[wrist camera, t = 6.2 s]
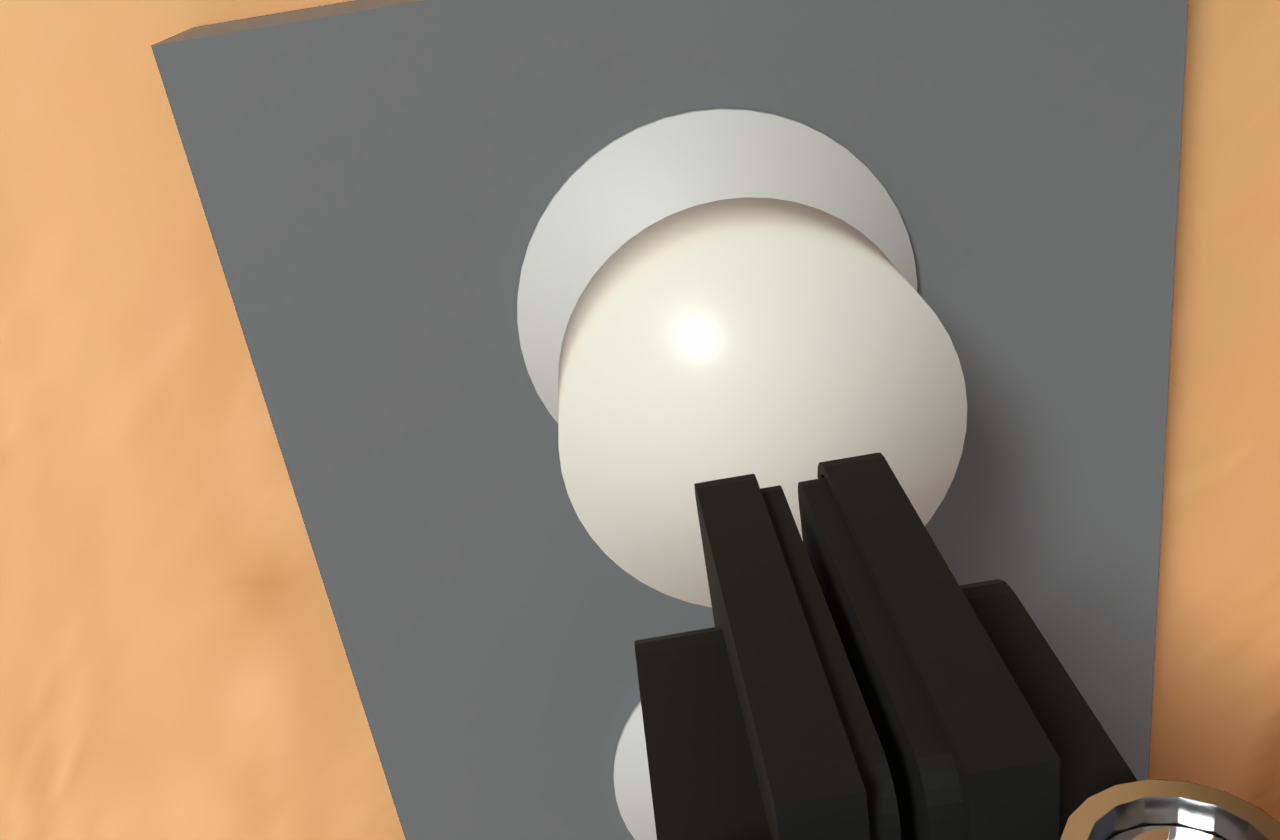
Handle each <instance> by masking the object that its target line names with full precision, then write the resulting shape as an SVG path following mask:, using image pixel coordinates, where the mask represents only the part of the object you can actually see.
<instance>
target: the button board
mask: <svg viewBox="0 0 1280 840" xmlns="http://www.w3.org/2000/svg"><path fill="white" fill-rule="evenodd" d="M1187 14H1188V0H355V1H349V2H343V3H337V4H331V5H325V6H319V7H313V8H307V9H301V10H295V11H289V12H283V13H277V14H271V15H265V16H259V17H253V18H247V19H241V20H235V21H229V22H223V23H217V24H211V25H205V26H199V27H193V28H191V29H189V30H186V31H184V32H182V33H180V34H177V35H175V36H173V37H170V38H168V39H166V40H163V41H161V42H159V43H156V44H154V45H152V46H151V47H152V50H153V53H154V56H155V59H156V62H157V65H158V69H159V72H160V75H161V78H162V81H163V84H164V87H165V90H166V94H167V97H168V100H169V103H170V106H171V109H172V112H173V115H174V118H175V122H176V125H177V128H178V131H179V134H180V137H181V140H182V143H183V147H184V150H185V153H186V156H187V159H188V162H189V165H190V168H191V171H192V175H193V178H194V181H195V184H196V187H197V190H198V193H199V196H200V199H201V203H202V206H203V209H204V212H205V215H206V218H207V221H208V224H209V228H210V231H211V234H212V237H213V240H214V243H215V246H216V249H217V252H218V256H219V259H220V262H221V265H222V268H223V271H224V274H225V277H226V281H227V284H228V287H229V290H230V293H231V296H232V299H233V302H234V305H235V309H236V312H237V315H238V318H239V321H240V324H241V327H242V330H243V334H244V337H245V340H246V343H247V346H248V349H249V352H250V355H251V358H252V362H253V365H254V368H255V371H256V374H257V377H258V380H259V383H260V387H261V390H262V393H263V396H264V399H265V402H266V405H267V408H268V411H269V415H270V418H271V421H272V424H273V427H274V430H275V433H276V436H277V440H278V443H279V446H280V449H281V452H282V455H283V458H284V461H285V464H286V468H287V471H288V474H289V477H290V480H291V483H292V486H293V489H294V493H295V496H296V499H297V502H298V505H299V508H300V511H301V514H302V517H303V521H304V524H305V527H306V530H307V533H308V536H309V539H310V542H311V546H312V549H313V552H314V555H315V558H316V561H317V564H318V567H319V570H320V574H321V577H322V580H323V583H324V586H325V589H326V592H327V595H328V599H329V602H330V605H331V608H332V611H333V614H334V617H335V620H336V623H337V627H338V630H339V633H340V636H341V639H342V642H343V645H344V648H345V652H346V655H347V658H348V661H349V664H350V667H351V670H352V673H353V676H354V680H355V683H356V686H357V689H358V692H359V695H360V698H361V701H362V705H363V708H364V711H365V714H366V717H367V720H368V723H369V726H370V729H371V733H372V736H373V739H374V742H375V745H376V748H377V751H378V754H379V757H380V761H381V764H382V767H383V770H384V773H385V776H386V779H387V782H388V786H389V789H390V792H391V795H392V798H393V801H394V804H395V807H396V810H397V814H398V817H399V820H400V823H401V826H402V829H403V832H404V835H405V839H406V840H657V836H656V827H655V818H654V810H653V801H652V793H651V784H650V775H649V767H648V758H647V750H646V741H645V733H644V724H643V715H642V707H641V698H640V690H639V681H638V672H637V664H636V655H635V645H634V643H635V640H641V639H647V638H653V637H659V636H665V635H670V634H676V633H682V632H688V631H694V630H700V629H706V628H712V627H715V625H714V618H713V611H712V608H711V607H706V606H702V605H698V604H693V603H689V602H685V601H683V600H680V599H677V598H674V597H671V596H669V595H666V594H663V593H661V592H659V591H657V590H655V589H653V588H651V587H650V586H648V585H646V584H644V583H642V582H640V581H639V580H637V579H636V578H634V577H633V576H631V575H630V574H629V573H627V572H626V571H624V570H623V569H622V568H620V567H619V566H618V565H617V564H616V563H615V562H614V561H613V560H611V559H610V558H609V557H608V556H607V555H606V554H605V553H604V552H603V551H602V550H601V548H600V547H599V546H598V545H597V544H596V542H595V541H594V540H593V539H592V538H591V537H590V535H589V534H588V532H587V530H586V529H585V527H584V526H583V524H582V523H581V521H580V519H579V518H578V516H577V514H576V512H575V510H574V507H573V505H572V503H571V501H570V498H569V496H568V493H567V490H566V486H565V483H564V479H563V476H562V472H561V464H560V456H559V448H558V371H559V358H560V352H561V346H562V340H563V337H564V334H565V331H566V327H567V324H568V321H569V318H570V316H571V314H572V312H573V310H574V307H575V305H576V303H577V301H578V299H579V297H580V295H581V294H582V292H583V291H584V289H585V288H586V286H587V284H588V283H589V281H590V280H591V278H592V277H593V276H594V274H595V273H596V272H597V271H598V270H599V269H600V267H601V266H602V265H603V264H604V263H605V261H606V260H607V259H608V258H609V257H610V256H611V255H612V254H613V253H614V252H616V251H617V250H618V249H619V248H620V247H621V246H622V245H623V244H624V243H626V242H627V241H628V240H629V239H631V238H632V237H634V236H635V235H637V234H638V233H639V232H641V231H642V230H644V229H645V228H647V227H648V226H650V225H652V224H654V223H656V222H658V221H660V220H661V219H663V218H665V217H667V216H669V215H671V214H674V213H676V212H679V211H682V210H685V209H687V208H690V207H693V206H696V205H700V204H704V203H709V202H713V201H717V200H723V199H733V198H743V197H754V198H774V199H780V200H786V201H793V202H797V203H801V204H804V205H807V206H811V207H814V208H817V209H820V210H822V211H824V212H827V213H829V214H831V215H833V216H835V217H837V218H839V219H842V220H843V221H845V222H846V223H848V224H849V225H851V226H852V227H854V228H856V229H857V230H859V231H860V232H862V233H863V234H864V235H865V236H866V237H867V238H869V239H870V240H871V241H872V242H873V243H874V244H875V245H877V246H878V247H879V248H880V249H881V251H882V252H883V253H884V254H885V255H886V256H887V258H888V259H889V260H890V261H891V262H892V263H893V265H894V266H895V267H896V268H897V269H898V270H899V272H900V273H901V274H902V275H903V276H904V277H905V279H906V280H907V281H908V282H909V283H910V284H911V286H912V287H913V288H914V289H915V290H916V291H917V293H918V294H919V295H920V296H921V297H922V298H923V300H924V301H925V302H926V303H927V304H928V305H929V307H930V308H931V309H932V310H933V311H934V313H935V314H936V315H937V317H938V318H939V320H940V321H941V323H942V325H943V326H944V328H945V330H946V331H947V333H948V334H949V336H950V339H951V341H952V343H953V346H954V348H955V350H956V353H957V355H958V357H959V361H960V365H961V369H962V372H963V376H964V380H965V388H966V397H967V426H966V434H965V440H964V445H963V451H962V455H961V458H960V461H959V464H958V467H957V470H956V473H955V476H954V478H953V480H952V483H951V485H950V487H949V489H948V491H947V493H946V495H945V497H944V499H943V501H942V502H941V504H940V505H939V507H938V508H937V510H936V511H935V513H934V515H933V516H932V518H931V519H930V520H929V522H928V523H927V524H926V525H925V528H926V529H927V531H928V533H929V535H930V536H931V538H932V540H933V541H934V543H935V545H936V547H937V548H938V550H939V552H940V553H941V555H942V557H943V559H944V560H945V562H946V564H947V565H948V567H949V569H950V571H951V572H952V574H953V576H954V577H955V579H956V581H957V583H958V584H959V586H960V585H966V584H972V583H977V582H983V581H989V580H995V579H1000V580H1002V581H1005V582H1006V583H1007V584H1008V585H1009V586H1010V587H1011V589H1012V590H1013V591H1014V592H1015V594H1016V595H1017V597H1018V598H1019V600H1020V601H1021V603H1022V605H1023V606H1024V608H1025V609H1026V611H1027V612H1028V614H1029V615H1030V617H1031V618H1032V620H1033V621H1034V623H1035V624H1036V626H1037V627H1038V629H1039V631H1040V632H1041V634H1042V635H1043V637H1044V638H1045V640H1046V641H1047V643H1048V644H1049V646H1050V647H1051V649H1052V650H1053V652H1054V653H1055V655H1056V657H1057V658H1058V660H1059V661H1060V663H1061V664H1062V666H1063V667H1064V669H1065V670H1066V672H1067V673H1068V675H1069V676H1070V678H1071V679H1072V681H1073V683H1074V684H1075V686H1076V687H1077V689H1078V690H1079V692H1080V693H1081V695H1082V696H1083V698H1084V699H1085V701H1086V702H1087V704H1088V705H1089V707H1090V709H1091V710H1092V712H1093V713H1094V715H1095V716H1096V718H1097V719H1098V721H1099V722H1100V724H1101V725H1102V727H1103V728H1104V730H1105V731H1106V733H1107V735H1108V736H1109V738H1110V739H1111V741H1112V742H1113V744H1114V745H1115V747H1116V748H1117V750H1118V751H1119V753H1120V754H1121V756H1122V757H1123V759H1124V761H1125V762H1126V764H1127V765H1128V767H1129V768H1130V770H1131V771H1132V773H1133V774H1134V776H1135V777H1136V779H1137V780H1138V781H1143V780H1148V772H1149V752H1150V733H1151V713H1152V694H1153V675H1154V655H1155V636H1156V616H1157V597H1158V577H1159V558H1160V538H1161V519H1162V500H1163V480H1164V461H1165V441H1166V422H1167V402H1168V383H1169V363H1170V344H1171V325H1172V305H1173V286H1174V266H1175V247H1176V227H1177V208H1178V189H1179V169H1180V150H1181V130H1182V111H1183V91H1184V72H1185V52H1186V33H1187Z"/></svg>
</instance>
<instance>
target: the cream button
mask: <svg viewBox="0 0 1280 840" xmlns="http://www.w3.org/2000/svg"><path fill="white" fill-rule="evenodd" d="M966 426H967V397H966V388H965V380H964V376H963V372H962V369H961V365H960V361H959V357H958V355H957V353H956V350H955V348H954V346H953V343H952V341H951V339H950V336H949V334H948V333H947V331H946V330H945V328H944V326H943V325H942V323H941V321H940V320H939V318H938V317H937V315H936V314H935V313H934V311H933V310H932V309H931V308H930V307H929V305H928V304H927V303H926V302H925V301H924V300H923V298H922V297H921V296H920V295H919V294H918V293H917V291H916V290H915V289H914V288H913V287H912V286H911V284H910V283H909V282H908V281H907V280H906V279H905V277H904V276H903V275H902V274H901V273H900V272H899V270H898V269H897V268H896V267H895V266H894V265H893V263H892V262H891V261H890V260H889V259H888V258H887V256H886V255H885V254H884V253H883V252H882V251H881V249H880V248H879V247H878V246H877V245H875V244H874V243H873V242H872V241H871V240H870V239H869V238H867V237H866V236H865V235H864V234H863V233H862V232H860V231H859V230H857V229H856V228H854V227H852V226H851V225H849V224H848V223H846V222H845V221H843V220H842V219H839V218H837V217H835V216H833V215H831V214H829V213H827V212H824V211H822V210H820V209H817V208H814V207H811V206H807V205H804V204H801V203H797V202H793V201H786V200H780V199H774V198H754V197H743V198H733V199H723V200H717V201H713V202H709V203H704V204H700V205H696V206H693V207H690V208H687V209H685V210H682V211H679V212H676V213H674V214H671V215H669V216H667V217H665V218H663V219H661V220H660V221H658V222H656V223H654V224H652V225H650V226H648V227H647V228H645V229H644V230H642V231H641V232H639V233H638V234H637V235H635V236H634V237H632V238H631V239H629V240H628V241H627V242H626V243H624V244H623V245H622V246H621V247H620V248H619V249H618V250H617V251H616V252H614V253H613V254H612V255H611V256H610V257H609V258H608V259H607V260H606V261H605V263H604V264H603V265H602V266H601V267H600V269H599V270H598V271H597V272H596V273H595V274H594V276H593V277H592V278H591V280H590V281H589V283H588V284H587V286H586V288H585V289H584V291H583V292H582V294H581V295H580V297H579V299H578V301H577V303H576V305H575V307H574V310H573V312H572V314H571V316H570V318H569V321H568V324H567V327H566V331H565V334H564V337H563V340H562V346H561V352H560V358H559V371H558V448H559V456H560V464H561V472H562V476H563V479H564V483H565V486H566V490H567V493H568V496H569V498H570V501H571V503H572V505H573V507H574V510H575V512H576V514H577V516H578V518H579V519H580V521H581V523H582V524H583V526H584V527H585V529H586V530H587V532H588V534H589V535H590V537H591V538H592V539H593V540H594V541H595V542H596V544H597V545H598V546H599V547H600V548H601V550H602V551H603V552H604V553H605V554H606V555H607V556H608V557H609V558H610V559H611V560H613V561H614V562H615V563H616V564H617V565H618V566H619V567H620V568H622V569H623V570H624V571H626V572H627V573H629V574H630V575H631V576H633V577H634V578H636V579H637V580H639V581H640V582H642V583H644V584H646V585H648V586H650V587H651V588H653V589H655V590H657V591H659V592H661V593H663V594H666V595H669V596H671V597H674V598H677V599H680V600H683V601H685V602H689V603H693V604H698V605H702V606H706V607H711V608H712V605H711V598H710V591H709V585H708V578H707V571H706V564H705V558H704V551H703V544H702V538H701V531H700V524H699V518H698V511H697V504H696V497H695V488H694V484H695V483H701V482H707V481H712V480H718V479H724V478H730V477H736V476H742V475H748V474H755V476H756V479H757V482H758V484H759V487H760V489H761V488H767V487H773V486H778V485H780V486H781V487H782V489H783V492H784V494H785V497H786V499H787V502H788V505H789V507H790V510H791V512H792V515H793V517H794V520H795V523H796V525H797V528H798V530H799V533H800V536H801V538H802V529H801V519H800V510H799V500H798V483H799V482H802V481H808V480H814V479H818V477H817V472H818V464H819V462H825V461H831V460H837V459H843V458H848V457H854V456H860V455H866V454H872V453H881V454H882V455H883V456H884V457H885V459H886V461H887V462H888V464H889V466H890V468H891V469H892V471H893V473H894V474H895V476H896V478H897V480H898V481H899V483H900V485H901V486H902V488H903V490H904V492H905V493H906V495H907V497H908V498H909V500H910V502H911V504H912V505H913V507H914V509H915V511H916V512H917V514H918V516H919V517H920V519H921V521H922V523H923V524H924V526H925V525H926V524H927V523H928V522H929V520H930V519H931V518H932V516H933V515H934V513H935V511H936V510H937V508H938V507H939V505H940V504H941V502H942V501H943V499H944V497H945V495H946V493H947V491H948V489H949V487H950V485H951V483H952V480H953V478H954V476H955V473H956V470H957V467H958V464H959V461H960V458H961V455H962V451H963V445H964V440H965V434H966ZM802 541H803V538H802Z"/></svg>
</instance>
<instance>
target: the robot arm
mask: <svg viewBox="0 0 1280 840" xmlns="http://www.w3.org/2000/svg"><path fill="white" fill-rule="evenodd" d="M817 477H818V479H814V480H808V481H802V482H799V483H798V500H799V510H800V519H801V529H802V538H803V541H802V538H801V536H800V533H799V530H798V528H797V525H796V523H795V520H794V517H793V515H792V512H791V510H790V507H789V505H788V502H787V499H786V497H785V494H784V492H783V489H782V487H781V486H780V485H778V486H773V487H767V488H761V489H760V487H759V484H758V482H757V479H756V476H755V474H748V475H742V476H736V477H730V478H724V479H718V480H712V481H707V482H701V483H695V484H694V488H695V497H696V504H697V511H698V518H699V524H700V531H701V538H702V544H703V551H704V558H705V564H706V571H707V578H708V585H709V591H710V598H711V605H712V611H713V618H714V625H715V627H712V628H706V629H700V630H694V631H688V632H682V633H676V634H670V635H665V636H659V637H653V638H647V639H641V640H635V643H634V645H635V655H636V664H637V672H638V681H639V690H640V698H641V707H642V715H643V724H644V733H645V741H646V750H647V758H648V767H649V775H650V784H651V793H652V801H653V810H654V818H655V827H656V836H657V840H1280V823H1279V822H1277V821H1276V820H1275V819H1274V818H1272V817H1271V816H1270V815H1268V814H1267V813H1266V812H1265V811H1263V810H1262V809H1260V808H1258V807H1256V806H1254V805H1252V804H1250V803H1248V802H1246V801H1244V800H1242V799H1240V798H1238V797H1235V796H1233V795H1231V794H1229V793H1227V792H1225V791H1221V790H1217V789H1214V788H1210V787H1206V786H1202V785H1198V784H1194V783H1191V782H1185V781H1168V780H1151V779H1149V780H1143V781H1138V780H1137V779H1136V777H1135V776H1134V774H1133V773H1132V771H1131V770H1130V768H1129V767H1128V765H1127V764H1126V762H1125V761H1124V759H1123V757H1122V756H1121V754H1120V753H1119V751H1118V750H1117V748H1116V747H1115V745H1114V744H1113V742H1112V741H1111V739H1110V738H1109V736H1108V735H1107V733H1106V731H1105V730H1104V728H1103V727H1102V725H1101V724H1100V722H1099V721H1098V719H1097V718H1096V716H1095V715H1094V713H1093V712H1092V710H1091V709H1090V707H1089V705H1088V704H1087V702H1086V701H1085V699H1084V698H1083V696H1082V695H1081V693H1080V692H1079V690H1078V689H1077V687H1076V686H1075V684H1074V683H1073V681H1072V679H1071V678H1070V676H1069V675H1068V673H1067V672H1066V670H1065V669H1064V667H1063V666H1062V664H1061V663H1060V661H1059V660H1058V658H1057V657H1056V655H1055V653H1054V652H1053V650H1052V649H1051V647H1050V646H1049V644H1048V643H1047V641H1046V640H1045V638H1044V637H1043V635H1042V634H1041V632H1040V631H1039V629H1038V627H1037V626H1036V624H1035V623H1034V621H1033V620H1032V618H1031V617H1030V615H1029V614H1028V612H1027V611H1026V609H1025V608H1024V606H1023V605H1022V603H1021V601H1020V600H1019V598H1018V597H1017V595H1016V594H1015V592H1014V591H1013V590H1012V589H1011V587H1010V586H1009V585H1008V584H1007V583H1006V582H1005V581H1002V580H1000V579H995V580H989V581H983V582H977V583H972V584H966V585H960V586H959V584H958V583H957V581H956V579H955V577H954V576H953V574H952V572H951V571H950V569H949V567H948V565H947V564H946V562H945V560H944V559H943V557H942V555H941V553H940V552H939V550H938V548H937V547H936V545H935V543H934V541H933V540H932V538H931V536H930V535H929V533H928V531H927V529H926V528H925V526H924V524H923V523H922V521H921V519H920V517H919V516H918V514H917V512H916V511H915V509H914V507H913V505H912V504H911V502H910V500H909V498H908V497H907V495H906V493H905V492H904V490H903V488H902V486H901V485H900V483H899V481H898V480H897V478H896V476H895V474H894V473H893V471H892V469H891V468H890V466H889V464H888V462H887V461H886V459H885V457H884V456H883V455H882V454H881V453H872V454H866V455H860V456H854V457H848V458H843V459H837V460H831V461H825V462H819V464H818V472H817Z"/></svg>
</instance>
